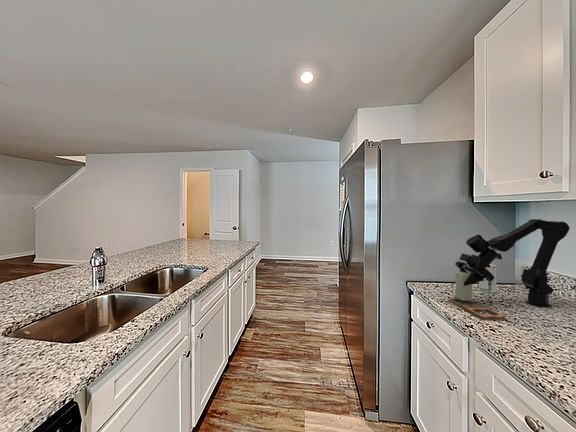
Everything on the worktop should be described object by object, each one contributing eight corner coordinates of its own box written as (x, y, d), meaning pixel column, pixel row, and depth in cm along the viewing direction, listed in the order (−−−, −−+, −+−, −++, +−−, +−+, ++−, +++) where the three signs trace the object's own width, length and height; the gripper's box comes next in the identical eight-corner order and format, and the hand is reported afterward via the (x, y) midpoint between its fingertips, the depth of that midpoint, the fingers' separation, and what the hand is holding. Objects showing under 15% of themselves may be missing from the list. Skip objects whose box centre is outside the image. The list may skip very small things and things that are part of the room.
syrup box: (478, 290, 141) (478, 264, 141) (485, 289, 143) (485, 263, 143) (490, 293, 136) (490, 266, 136) (497, 292, 138) (496, 264, 138)
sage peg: (465, 297, 124) (465, 271, 124) (472, 300, 119) (471, 274, 119) (456, 297, 124) (455, 272, 124) (462, 300, 119) (462, 274, 119)
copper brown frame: (466, 300, 126) (466, 297, 126) (504, 319, 104) (504, 316, 104) (448, 301, 126) (448, 298, 126) (482, 320, 104) (482, 316, 104)
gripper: (458, 245, 130) (436, 267, 131) (487, 250, 112) (461, 276, 112) (474, 260, 131) (452, 282, 131) (505, 268, 112) (480, 294, 112)
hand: (460, 283), depth 121 cm, fingers closed on sage peg, 4 cm apart
